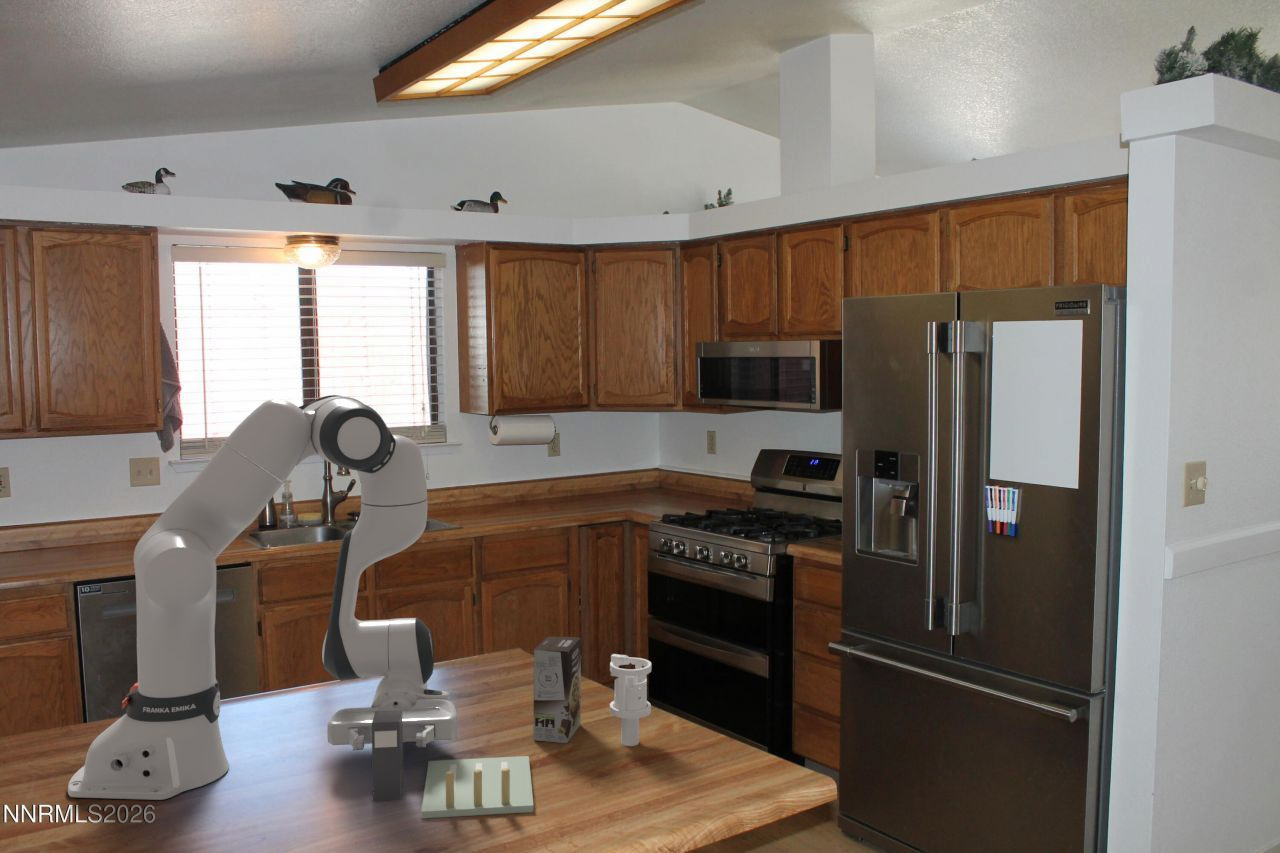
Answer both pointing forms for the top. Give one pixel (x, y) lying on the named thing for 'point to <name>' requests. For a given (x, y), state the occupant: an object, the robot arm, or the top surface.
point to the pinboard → (477, 787)
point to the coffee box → (557, 689)
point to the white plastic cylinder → (630, 695)
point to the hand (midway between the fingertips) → (389, 743)
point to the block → (387, 755)
